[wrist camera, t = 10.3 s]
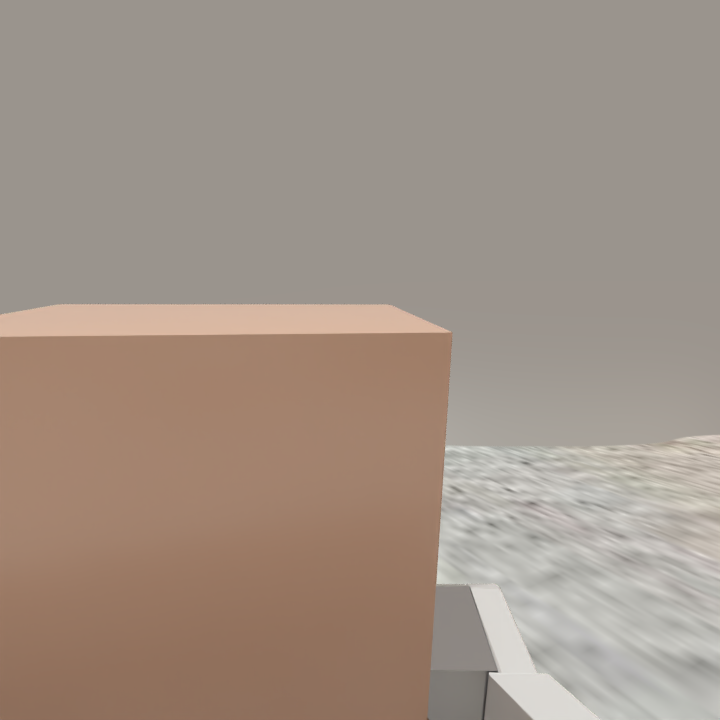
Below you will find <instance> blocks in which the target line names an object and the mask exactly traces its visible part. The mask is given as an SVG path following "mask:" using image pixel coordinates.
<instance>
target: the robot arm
mask: <svg viewBox="0 0 720 720" xmlns="http://www.w3.org/2000/svg"><path fill="white" fill-rule="evenodd" d="M427 720H601V719H600V718H599V717H597V716H596V715H595V714H594V713H593V712H592V711H591V710H589V709H588V708H587V707H586V706H585V705H584V704H583V703H581V702H580V701H579V700H578V699H577V698H576V697H574V696H573V695H572V694H571V693H570V692H569V691H568V690H566V689H565V688H564V687H563V686H562V685H561V684H560V683H558V682H557V681H556V680H555V679H554V678H553V677H552V676H550V675H549V674H545V673H538V672H537V670H536V668H535V665H534V663H533V661H532V658H531V656H530V654H529V652H528V649H527V647H526V645H525V643H524V640H523V638H522V636H521V634H520V631H519V629H518V627H517V625H516V622H515V620H514V618H513V616H512V613H511V611H510V609H509V607H508V604H507V602H506V600H505V597H504V595H503V593H502V591H501V588H500V587H499V586H498V585H497V584H466V585H465V584H436V593H435V608H434V624H433V639H432V654H431V670H430V685H429V701H428V716H427Z"/></svg>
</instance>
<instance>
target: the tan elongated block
mask: <svg viewBox="0 0 720 720" xmlns="http://www.w3.org/2000/svg"><path fill="white" fill-rule="evenodd" d="M451 346H452V332H450V331H448V330H446V329H443V328H441V327H439V326H437V325H434V324H432V323H430V322H428V321H425V320H423V319H421V318H419V317H416V316H414V315H412V314H409V313H407V312H405V311H403V310H400V309H398V308H396V307H394V306H391V305H323V304H322V305H321V304H320V305H318V304H316V305H315V304H314V305H313V304H310V305H309V304H308V305H307V304H305V305H304V304H303V305H302V304H300V305H299V304H298V305H297V304H295V305H294V304H289V305H287V304H285V305H283V304H279V305H278V304H277V305H276V304H269V305H267V304H265V305H264V304H262V305H260V304H259V305H258V304H253V305H252V304H250V305H249V304H247V305H245V304H244V305H243V304H237V305H236V304H233V305H232V304H209V305H208V304H186V305H185V304H176V305H175V304H59V305H52V306H47V307H41V308H35V309H30V310H24V311H18V312H13V313H6V314H1V315H0V720H427V716H428V701H429V685H430V670H431V654H432V639H433V624H434V608H435V593H436V578H437V562H438V547H439V531H440V516H441V501H442V485H443V470H444V454H445V439H446V423H447V408H448V393H449V377H450V362H451Z"/></svg>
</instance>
